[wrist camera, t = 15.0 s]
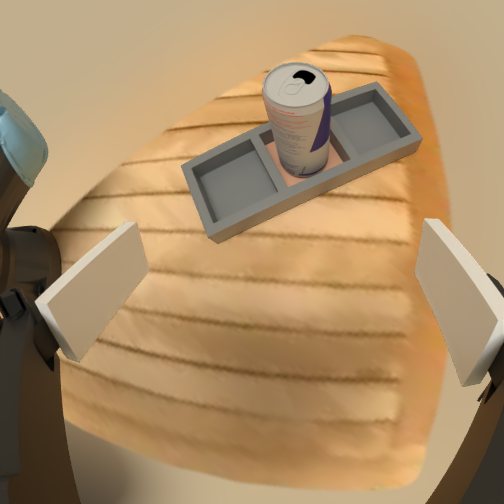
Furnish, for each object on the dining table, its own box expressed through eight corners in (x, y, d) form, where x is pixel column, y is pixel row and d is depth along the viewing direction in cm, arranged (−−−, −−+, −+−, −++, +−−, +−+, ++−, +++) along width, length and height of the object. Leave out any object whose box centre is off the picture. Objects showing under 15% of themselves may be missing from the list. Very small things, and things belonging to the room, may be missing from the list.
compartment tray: (217, 243, 31) (207, 237, 28) (191, 176, 34) (180, 165, 31) (415, 152, 29) (423, 138, 26) (373, 96, 31) (377, 81, 28)
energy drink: (337, 153, 30) (344, 77, 18) (309, 188, 30) (304, 120, 18) (298, 129, 31) (287, 52, 20) (269, 161, 31) (245, 90, 20)
